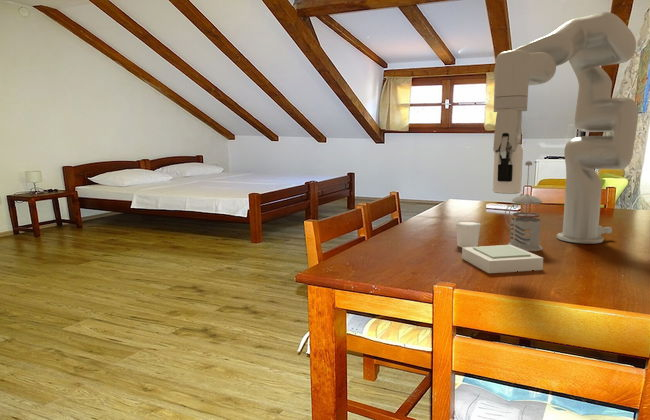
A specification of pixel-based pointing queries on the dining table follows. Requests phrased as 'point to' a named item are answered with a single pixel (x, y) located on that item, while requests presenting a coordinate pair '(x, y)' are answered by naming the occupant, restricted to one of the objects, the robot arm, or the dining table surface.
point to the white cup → (467, 233)
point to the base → (502, 258)
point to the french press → (525, 223)
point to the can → (515, 184)
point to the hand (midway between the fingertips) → (507, 179)
